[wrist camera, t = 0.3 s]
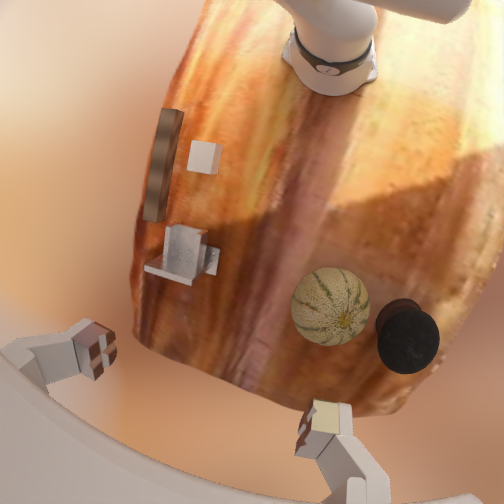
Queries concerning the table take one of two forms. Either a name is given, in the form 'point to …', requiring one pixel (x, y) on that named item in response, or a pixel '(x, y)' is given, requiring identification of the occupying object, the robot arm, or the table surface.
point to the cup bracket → (185, 255)
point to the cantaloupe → (330, 306)
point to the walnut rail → (162, 164)
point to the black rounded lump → (406, 337)
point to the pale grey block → (204, 157)
